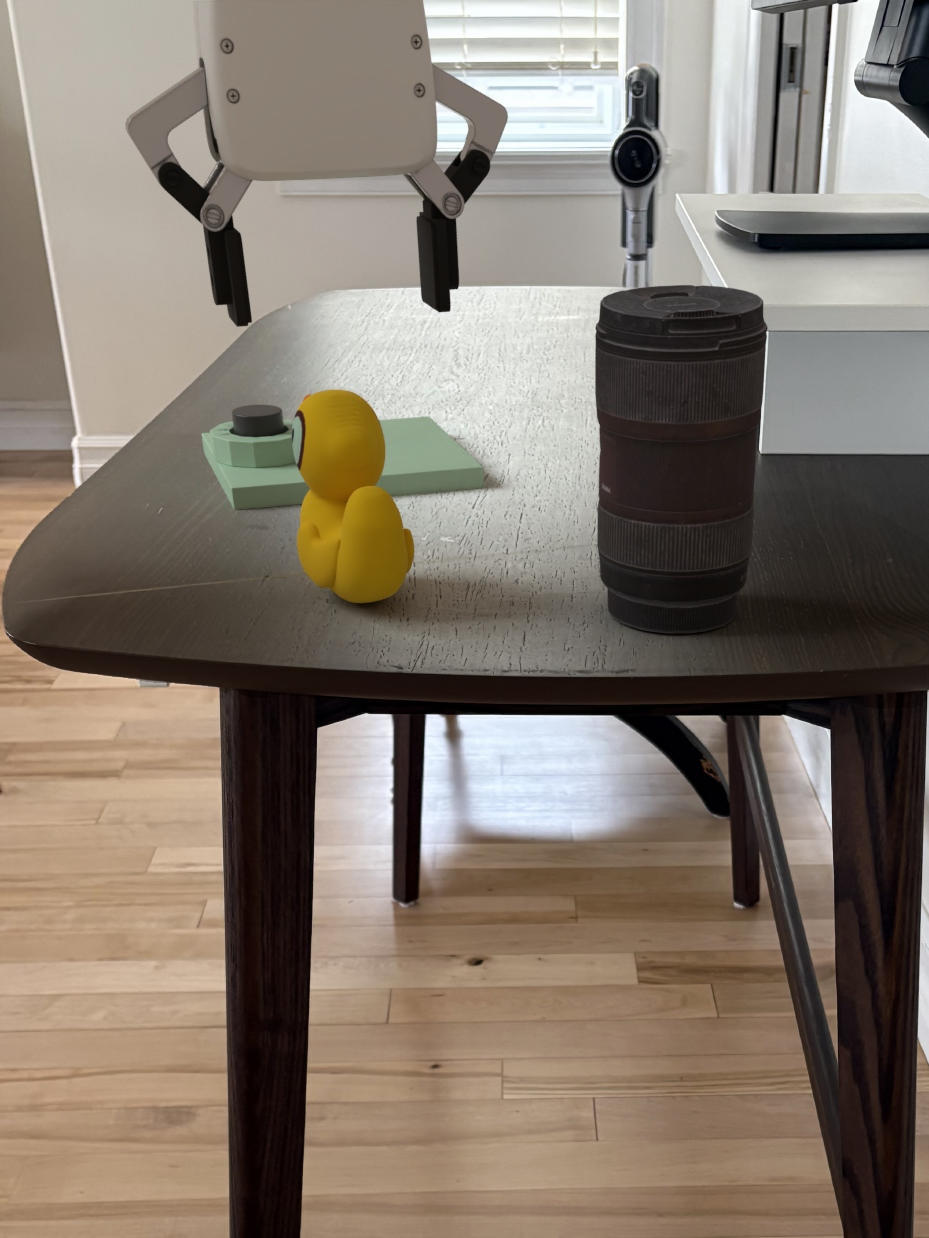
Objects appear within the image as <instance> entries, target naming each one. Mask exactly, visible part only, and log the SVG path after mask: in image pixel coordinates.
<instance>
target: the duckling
mask: <svg viewBox="0 0 929 1238" xmlns="http://www.w3.org/2000/svg"><path fill="white" fill-rule="evenodd" d="M379 420H380V419H379V417H378V416H377V414H376V412H375V410H374V409H373V407H372V406H371V404H370V403H369V402H368V401H367V400H365V399H364V397H362V396H361V395H359V394H358V393H355V392H353V391H350V390H346V389H326V390H321V391H317V392H314V393H312V394H307V395H305V396H304V397H303V400H302V401H301V403H300V404H299V406H298V408H297V410H296V412H295V415H294V418H293V420H292V421H293V426H292V446H293V453H294V457H295V461H296V464H297V467H298V469H299V472H300V474H301V476H302V478H303V479H304V481H305V482H306V484H307V485H308V487H309V488H310V490H309V491H308V493H307V494H306V496H305V498H304V500H303V503H302V504H301V508H300V512H299V513H300V514H299V528H298V530H297V535H296V548H297V554H298V559H299V563H300V564H301V567H302V569H303V571H304V573H305V575H306V576H307V577H308V578H309V579H310V580H311V581H312V582H313V583H314V584H315V585H316V586H318V588H322V589H326V588H327V589H329V590H330V591H331V592H333V593H334V594H335V595H337V596H338V597H339V598H341V599H343V600H345V601H347V602H350V603H355V604H366V603H367V604H368V603H374V602H379V601H382V600H385V599H387V598H390V597H391V596H393V595H394V594H396V593H398V591H399V590H400V588H401V587H402V586H403V584H404V581H405V579H406V577H407V574H408V573H409V572H410V570H411V568H412V566H413V563H414V559H415V558H414V557H415V542H414V537H413V533H412V531H411V530H410V528H406V527H405V528H404V523H403V519H402V515H401V512H400V510H399V508H398V506H397V504H396V502H395V500H394V499H393V496H390V494H389V493H388V492H387V491H385V490H384V489H382V488H381V487H377V486H375V485H376V484H377V482H378V481H379V479H380V477H381V474H382V472H383V468H384V464H385V440H384V435H383V431H382V427H381V424H380V422H379Z"/></svg>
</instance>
